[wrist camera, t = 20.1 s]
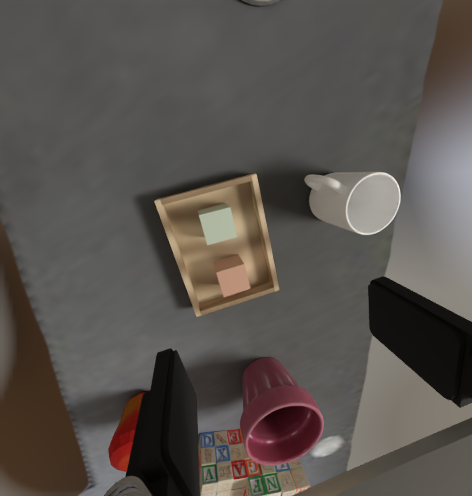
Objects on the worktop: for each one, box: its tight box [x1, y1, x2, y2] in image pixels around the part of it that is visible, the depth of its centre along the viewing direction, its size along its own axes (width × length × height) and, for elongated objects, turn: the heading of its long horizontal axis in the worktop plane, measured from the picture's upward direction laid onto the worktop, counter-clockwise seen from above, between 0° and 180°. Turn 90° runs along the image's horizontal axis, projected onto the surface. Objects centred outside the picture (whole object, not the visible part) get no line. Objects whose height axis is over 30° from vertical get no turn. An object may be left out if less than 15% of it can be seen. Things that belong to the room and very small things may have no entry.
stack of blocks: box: [198, 429, 310, 496], centre depth 49 cm, size 21×6×12 cm, turn 81°
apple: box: [108, 392, 145, 472], centre depth 40 cm, size 9×8×12 cm
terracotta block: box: [213, 254, 251, 297], centre depth 37 cm, size 4×4×4 cm
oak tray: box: [154, 174, 279, 317], centre depth 37 cm, size 20×15×3 cm
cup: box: [304, 172, 400, 235], centre depth 34 cm, size 8×12×10 cm
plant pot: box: [240, 357, 324, 466], centre depth 43 cm, size 14×14×13 cm
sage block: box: [198, 203, 237, 245], centre depth 34 cm, size 4×4×4 cm
